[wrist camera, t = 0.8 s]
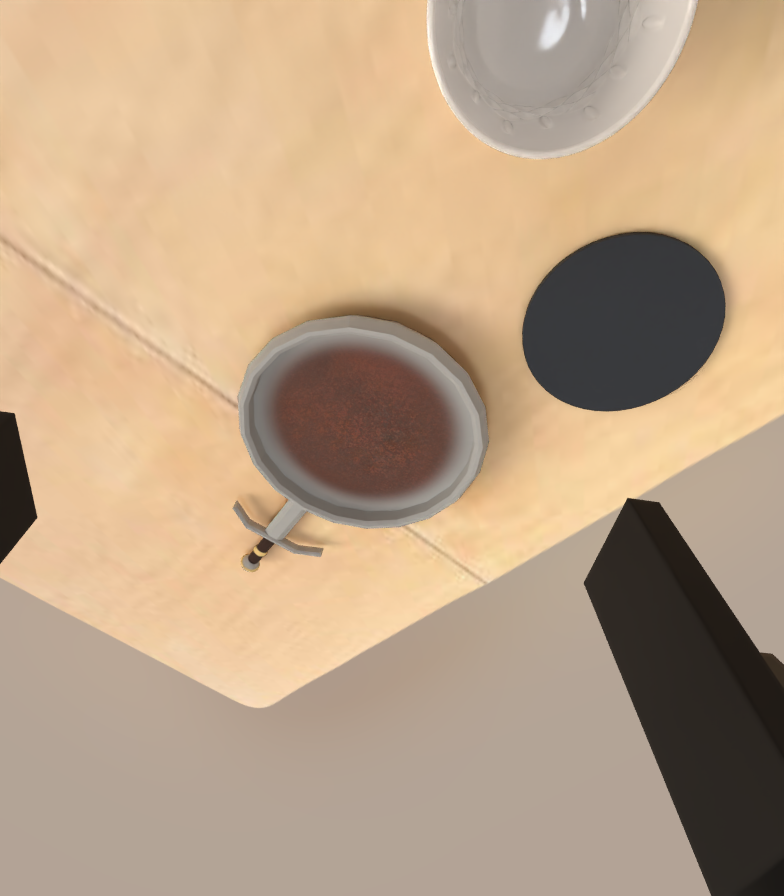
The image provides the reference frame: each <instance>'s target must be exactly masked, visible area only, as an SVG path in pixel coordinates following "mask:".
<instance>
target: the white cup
mask: <svg viewBox="0 0 784 896" xmlns="http://www.w3.org/2000/svg"><path fill="white" fill-rule="evenodd" d="M697 4H698V0H428V1H427V38H428V47H429V53H430V58H431V63H432V67H433V70H434V74H435V77H436V80H437V82H438V85H439V87H440V90H441V92H442V94H443V96H444V98H445V100H446V102H447V104H448V105H449V107H450V109H451V110H452V112H453V113H454V114H455V116H456V117H457V118H458V120H459V121H460V122H461V123H462V124H463V125H464V127H465V128H466V129H467V130H468V131H470V132H471V133H472V134H473V135H474V136H475V137H477V138H478V139H479V140H481V141H482V142H483V143H485V144H487V145H488V146H490V147H492V148H494V149H496V150H498V151H500V152H503V153H506V154H509V155H512V156H516V157H521V158H527V159H552V158H559V157H564V156H568V155H572V154H575V153H578V152H581V151H584V150H586V149H588V148H591V147H593V146H595V145H597V144H599V143H600V142H602V141H604V140H606V139H607V138H609V137H610V136H612V135H613V134H615V133H616V132H618V131H619V130H620V129H622V128H623V127H624V126H625V125H627V124H628V123H629V122H630V121H631V120H632V119H633V118H635V117H636V116H637V115H638V114H639V113H640V112H641V111H642V110H643V108H644V107H645V106H646V105H647V104H648V103H649V102H650V101H651V99H652V98H653V97H654V96H655V94H656V93H657V92H658V90H659V89H660V88H661V86H662V85H663V83H664V82H665V80H666V79H667V77H668V76H669V74H670V72H671V71H672V69H673V67H674V65H675V63H676V62H677V60H678V58H679V56H680V54H681V51H682V49H683V47H684V45H685V42H686V40H687V37H688V34H689V32H690V29H691V26H692V23H693V19H694V16H695V12H696V8H697Z"/></svg>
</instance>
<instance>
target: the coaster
mask: <svg viewBox="0 0 784 896" xmlns="http://www.w3.org/2000/svg"><path fill="white" fill-rule="evenodd" d="M724 318H725V296H724V291H723V287H722V284H721V281H720V279H719V277H718V275H717V273H716V271H715V269H714V268H713V267H712V265H711V264H710V263H709V261H708V260H707V259H706V258H705V257H704V256H703V255H702V254H701V253H700V252H699V251H697V250H696V249H694V248H693V247H691V246H690V245H688V244H687V243H685V242H683V241H680V240H678V239H676V238H673V237H670V236H666V235H663V234H656V233H649V232H633V233H625V234H618V235H614V236H610V237H606V238H603V239H600V240H598V241H595V242H592V243H590V244H588V245H586V246H584V247H582V248H580V249H578V250H577V251H575V252H574V253H572V254H571V255H569V256H568V257H566V258H565V259H564V260H563V261H561V262H560V263H559V264H558V265H557V266H555V267H554V268H553V269H552V271H551V272H550V273H549V274H548V275H547V276H546V277H545V278H544V280H543V281H542V282H541V284H540V285H539V286H538V288H537V290H536V291H535V293H534V295H533V297H532V298H531V301H530V303H529V306H528V308H527V311H526V315H525V318H524V323H523V332H522V336H523V349H524V354H525V358H526V361H527V364H528V366H529V368H530V370H531V372H532V374H533V376H534V377H535V378H536V380H537V381H538V383H539V384H540V385H541V386H542V387H543V388H544V389H545V390H546V391H548V392H549V393H550V394H551V395H553V396H554V397H556V398H557V399H559V400H561V401H563V402H565V403H567V404H570V405H572V406H575V407H579V408H582V409H587V410H593V411H620V410H626V409H632V408H636V407H639V406H643V405H646V404H648V403H651V402H654V401H656V400H658V399H660V398H662V397H664V396H666V395H668V394H670V393H671V392H673V391H675V390H676V389H678V388H679V387H680V386H682V385H683V384H684V383H686V382H687V381H688V380H689V379H690V378H691V377H692V376H693V375H694V374H696V373H697V372H698V370H699V369H700V368H701V367H702V366H703V365H704V363H705V362H706V361H707V359H708V358H709V356H710V355H711V353H712V352H713V350H714V348H715V346H716V344H717V342H718V340H719V337H720V334H721V331H722V328H723V323H724Z"/></svg>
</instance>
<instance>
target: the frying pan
mask: <svg viewBox="0 0 784 896" xmlns="http://www.w3.org/2000/svg"><path fill="white" fill-rule="evenodd" d="M238 411H239V428H240V433H241V436H242V438H243V441H244V443H245V445H246V448H247V450H248V452H249V455H250V457H251V460H252V462H253V464H254V466H255V467H256V468H257V469H258V470H259V472H260V473H261V474H262V475H263V476H264V478H265V479H266V480H267V481H268V482H269V484H270V485H271V486H272V487H273V488H274V490H276V491H277V492H279V493H280V494H281V495H283V496H284V497H285V498H287V499H288V502H287V503H286V504H285V505H284V507H283V508H282V509H281V510H280V512H279V513H278V514H277V515H276V517H275V518H274V519H273V520H272V522H271V523H270V524H269V525H268V526H267V528H265V527H264V526H262V525H260V524H258V523H256V522H254V521H253V520H251V519H250V518H249V517H248V515H247V514H246V512H245V511H244V509H243V508H242V506H241V505H240V503H239V502H238V501H236V503H235V505H234V507H233V510H234V511H235V512H236V514H237V515H238V517H239V518H240V520H241V521H242V523H243V524H244V526H245V527H246V528H247V529H249V530H251V531H253V532H255V533H256V534H258V535H260V536H262V537H264V538H263V539H262V540H261V542H260V543H259V544H258V545H256V546H255V547H254V550H253V551H252V553H251V554H246V555H244V556H243V557H242V558H241V565H242V568H243V569H244V570H245V571H248V572H254V571H256V570H258V568H259V566H260V563H259V561H260V560H261V558H262V557H263V556H265V555H266V554H267V553H268V550H269V549H270V548H271V547H272V545H273V544H274V543H275V544H277V545H279V546H281V547H283V548H284V549H286V550H288V551H290V552H292V553H294V554H302V555H310V556H317V557H321V555H322V552H323V549H324V548H316V547H308V546H300V545H297V544H295V543H293V542H291V541H289V540H288V539H286V538H284V537H285V536H286V535H287V534H288V533H289V531H290V530H291V529H292V528H293V527H294V526H295V524H296V523H297V522H298V521H299V520H300V519H301V517H302V516H303V515H304V514H305V513H306V512H309V513H312V514H314V515H316V516H319V517H321V518H323V519H326V520H328V521H330V522H333V523H338V524H344V525H349V526H355V527H360V528H366V529H368V528H392V527H401V526H405V525H408V524H412V523H415V522H418V521H422V520H425V519H428V518H431V517H432V516H434V515H435V514H437V513H439V512H440V511H442V510H443V509H445V508H446V507H448V506H449V505H451V504H453V503H454V502H456V501H457V500H458V499H459V498H460V497H461V496H462V495H463V493H464V492H465V491H466V489H467V488H468V487H469V486H470V484H471V483H472V482H473V481H474V479H475V478H476V477H477V475H478V474H479V473H480V471H481V467H482V464H483V460H484V457H485V453H486V450H487V447H488V443H489V436H488V427H487V418H486V408H485V405H484V403H483V402H482V400H481V398H480V396H479V394H478V392H477V390H476V388H475V386H474V384H473V382H472V380H471V378H470V376H469V374H468V373H467V372H466V371H465V370H464V369H463V368H462V367H461V366H460V365H459V364H458V363H457V362H456V361H455V360H454V359H453V358H452V357H451V356H450V355H448V354H447V353H446V352H445V351H444V350H443V349H442V348H441V347H440V346H439V345H438V344H437V343H435V342H434V341H433V340H432V339H430V338H428V337H426V336H424V335H422V334H420V333H418V332H416V331H414V330H412V329H410V328H408V327H406V326H404V325H402V324H400V323H398V322H395V321H389V320H383V319H378V318H372V317H366V316H360V315H354V316H352V315H349V316H341V317H333V318H326V319H318V320H310V321H306V322H304V323H302V324H300V325H298V326H296V327H294V328H292V329H290V330H288V331H286V332H284V333H282V334H280V335H278V336H276V337H274V338H272V339H271V340H270V341H269V343H268V344H267V345H266V346H265V347H264V348H263V349H262V350H261V351H260V353H259V354H258V355H257V356H256V357H255V358H254V359H253V360H252V361H251V363H250V364H249V365H248V367H247V370H246V373H245V376H244V379H243V382H242V385H241V388H240V391H239V394H238Z"/></svg>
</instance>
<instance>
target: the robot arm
mask: <svg viewBox="0 0 784 896" xmlns="http://www.w3.org/2000/svg"><path fill="white" fill-rule="evenodd" d="M36 519H37V514H36V509H35V505H34V500H33V495H32V491H31V486H30V482H29V477H28V473H27V468H26V463H25V459H24V454H23V450H22V445H21V441H20V436H19V431H18V427H17V422H16V418H15V413H8V412H1V411H0V564H1V562H2V561H3V560H4V559H5V557H6V556H7V555H8V554H9V552H10V551H11V550H12V549H13V547H14V546H15V545H16V544H17V542H18V541H19V540H20V539H21V537H22V536H23V535H24V534H25V532H26V531H27V530H28V529H29V527H30V526H31V525H32V524H33V522H34V521H35V520H36ZM584 585H585V587H586V590H587V592H588V595H589V597H590V599H591V602H592V604H593V607H594V609H595V612H596V614H597V616H598V619H599V621H600V624H601V626H602V629H603V631H604V634H605V636H606V639H607V641H608V644H609V646H610V649H611V651H612V653H613V656H614V658H615V661H616V663H617V665H618V668H619V670H620V673H621V675H622V678H623V680H624V683H625V685H626V687H627V690H628V693H629V695H630V697H631V700H632V702H633V705H634V707H635V710H636V712H637V715H638V717H639V719H640V722H641V724H642V727H643V729H644V732H645V734H646V737H647V739H648V742H649V744H650V746H651V749H652V751H653V754H654V756H655V759H656V761H657V764H658V766H659V769H660V771H661V773H662V776H663V778H664V781H665V783H666V786H667V788H668V791H669V793H670V796H671V798H672V800H673V803H674V805H675V808H676V810H677V813H678V815H679V818H680V820H681V822H682V825H683V827H684V830H685V832H686V835H687V837H688V840H689V842H690V844H691V847H692V849H693V852H694V854H695V857H696V859H697V862H698V864H699V867H700V869H701V871H702V874H703V876H704V879H705V881H706V884H707V886H708V889H709V891H710V893H711V896H784V664H782V663H781V662H780V661H779V660H778V659H777V658H776V657H775V656H774V655H773V654H768V653H760V652H759V651H758V649H757V648H756V646H755V645H754V643H753V642H752V640H751V639H750V637H749V636H748V634H747V633H746V631H745V630H744V628H743V627H742V625H741V624H740V622H739V621H738V619H737V618H736V617H735V615H734V613H733V612H732V610H731V609H730V607H729V606H728V604H727V603H726V601H725V600H724V598H723V597H722V595H721V594H720V592H719V591H718V590H717V588H716V587H715V585H714V584H713V582H712V581H711V579H710V578H709V576H708V575H707V573H706V572H705V570H704V569H703V567H702V566H701V564H700V563H699V561H698V560H697V558H696V557H695V555H694V554H693V552H692V551H691V549H690V548H689V546H688V545H687V543H686V542H685V540H684V539H683V538H682V536H681V534H680V533H679V531H678V530H677V528H676V527H675V526H674V524H673V522H672V521H671V519H670V518H669V516H668V515H667V513H666V512H665V511H664V509H663V507H662V506H661V504H660V503H659V502H652V501H645V500H638V499H631V498H627V500H626V502H625V504H624V506H623V508H622V510H621V512H620V514H619V516H618V518H617V520H616V522H615V523H614V526H613V527H612V529H611V531H610V533H609V535H608V537H607V539H606V541H605V543H604V545H603V547H602V549H601V551H600V553H599V554H598V556H597V558H596V560H595V562H594V564H593V566H592V568H591V570H590V572H589V574H588V576H587V578H586V580H585V581H584Z"/></svg>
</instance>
